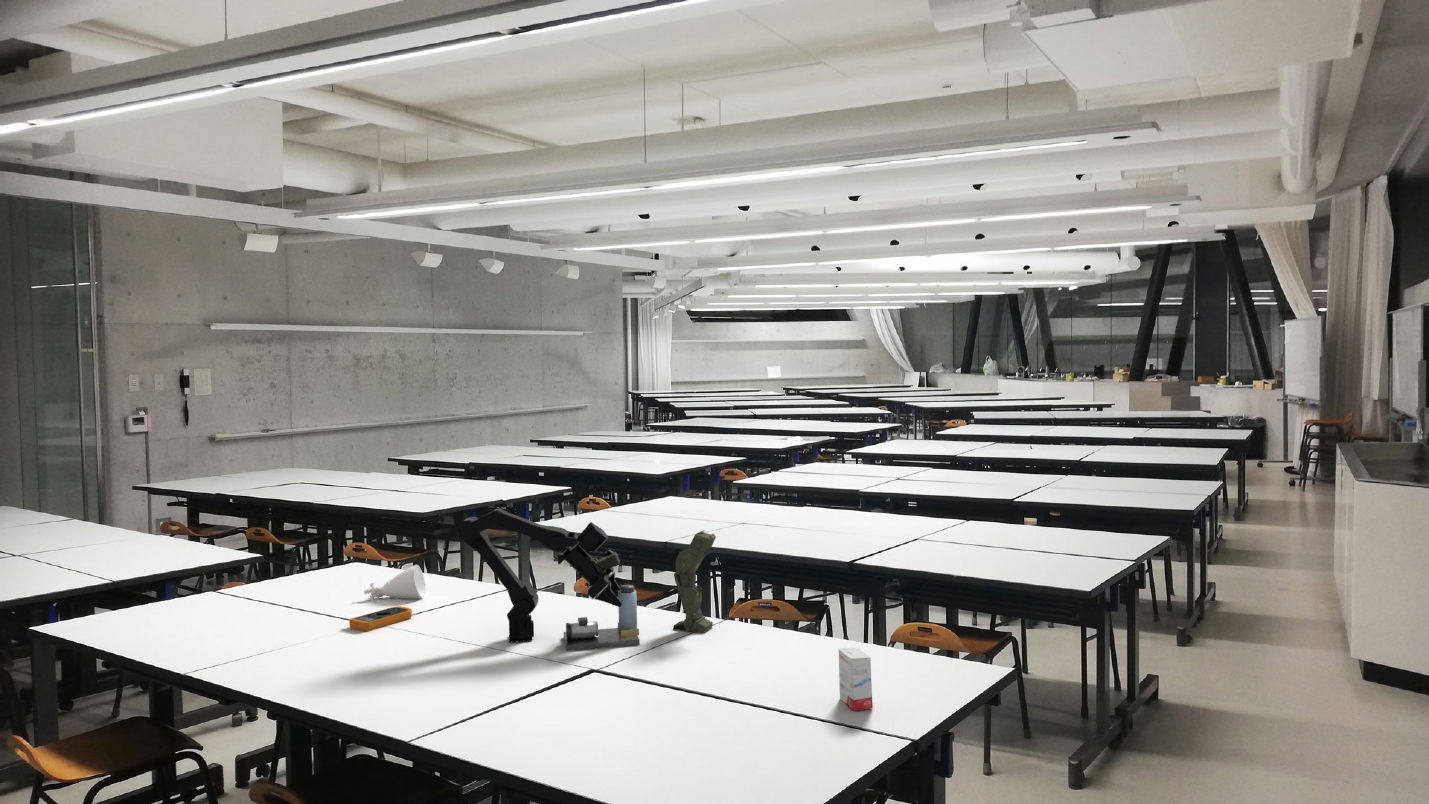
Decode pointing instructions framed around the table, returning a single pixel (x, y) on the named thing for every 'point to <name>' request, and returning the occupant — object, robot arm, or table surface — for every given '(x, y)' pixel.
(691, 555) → the mechanical leg
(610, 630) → the plate
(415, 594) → the rocket engine
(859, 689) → the ink box
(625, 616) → the bottle
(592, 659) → the table surface
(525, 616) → the robot arm
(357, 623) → the multimeter
